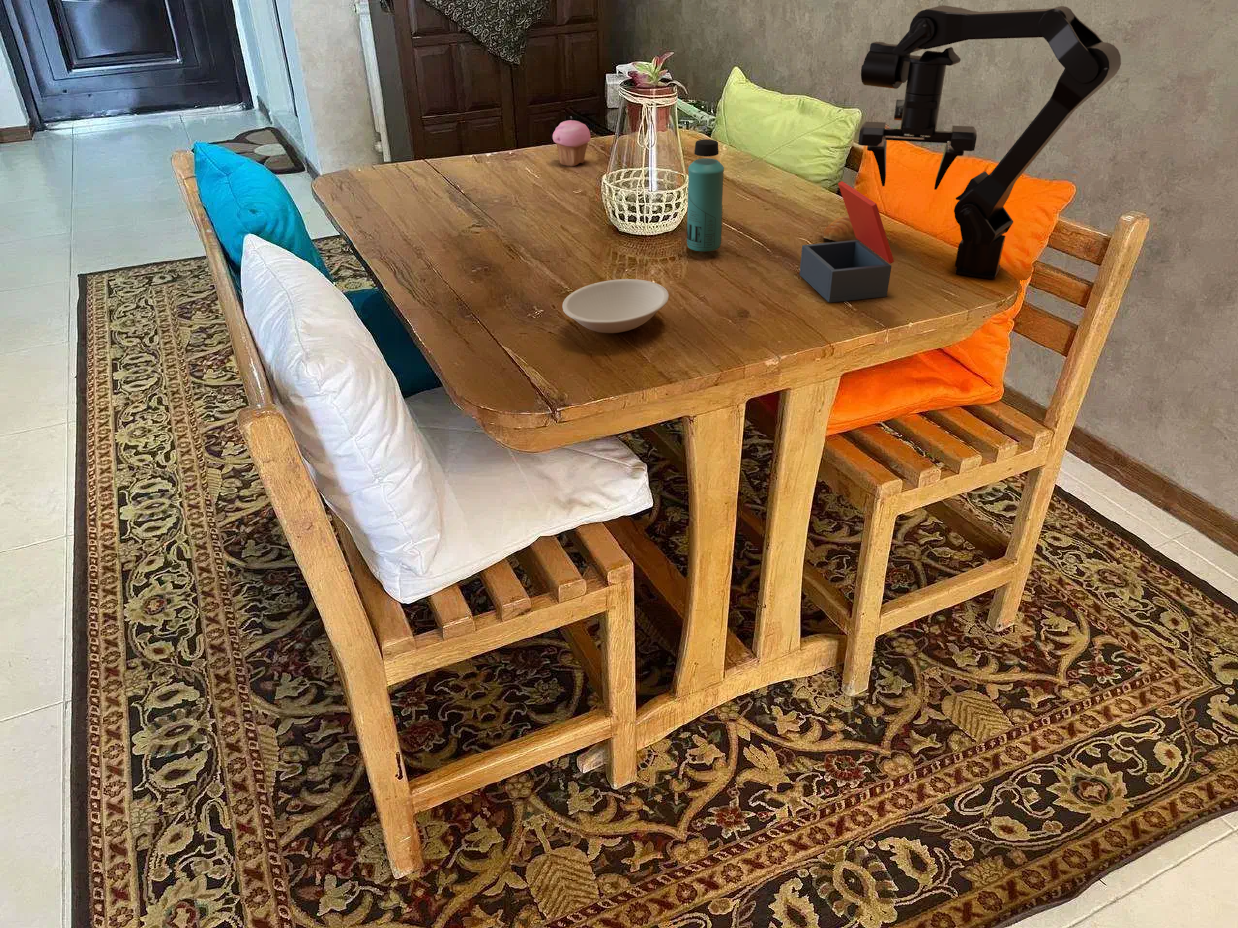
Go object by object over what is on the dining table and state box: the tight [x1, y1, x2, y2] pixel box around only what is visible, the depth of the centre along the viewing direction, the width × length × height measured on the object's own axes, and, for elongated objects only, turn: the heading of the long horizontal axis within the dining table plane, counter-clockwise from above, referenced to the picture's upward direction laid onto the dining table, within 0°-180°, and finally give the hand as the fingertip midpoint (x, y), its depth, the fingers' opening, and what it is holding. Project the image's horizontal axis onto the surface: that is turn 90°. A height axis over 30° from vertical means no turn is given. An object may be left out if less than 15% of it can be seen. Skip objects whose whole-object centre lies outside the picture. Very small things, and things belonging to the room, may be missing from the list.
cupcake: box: [552, 119, 592, 167], centre depth 217 cm, size 9×9×10 cm
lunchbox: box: [798, 240, 892, 303], centre depth 152 cm, size 10×13×5 cm
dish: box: [562, 278, 670, 334], centre depth 139 cm, size 18×14×5 cm
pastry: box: [823, 214, 859, 242], centre depth 172 cm, size 9×7×4 cm
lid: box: [837, 180, 895, 264], centre depth 148 cm, size 11×13×1 cm
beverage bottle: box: [685, 138, 725, 252], centre depth 161 cm, size 6×7×20 cm
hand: (909, 187), depth 159 cm, fingers open, 8 cm apart
